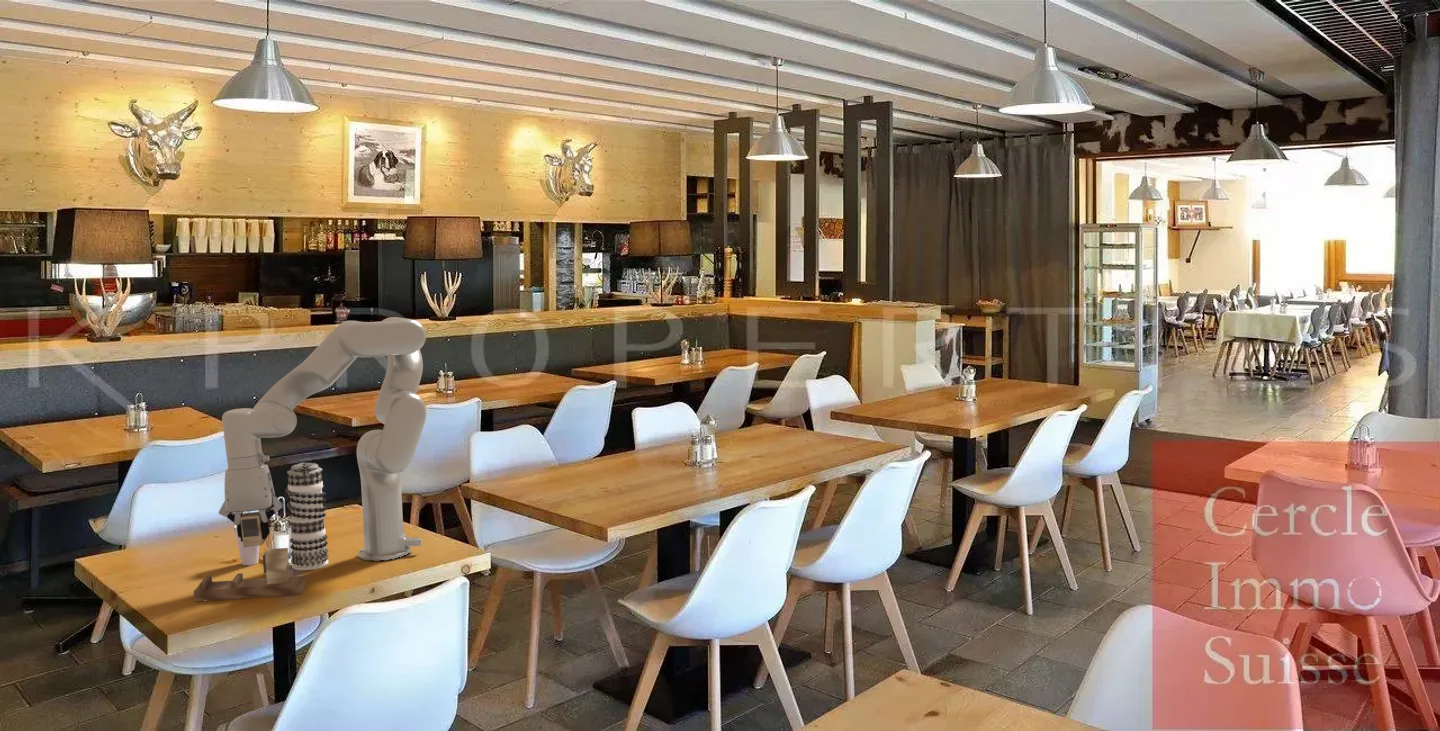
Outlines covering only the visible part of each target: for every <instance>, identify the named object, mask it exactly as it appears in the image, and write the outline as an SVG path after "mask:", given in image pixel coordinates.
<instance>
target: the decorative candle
mask: <svg viewBox="0 0 1440 731" xmlns="http://www.w3.org/2000/svg"><path fill="white" fill-rule="evenodd" d="M322 471H323V468H321V467H320V466H319V464H317V463H315V462H300V463H299V462H298V463H295V464H293V465H292V466H291V468H289V470H287V472H286V473H287V480H288V481H287V482H288V484H287V487H286V488H285V490H284V492H285V493H286V495H285V499H286V500H287V504H286V507H287V510H286V512H287V514H288V515H289V518H288V521H289V522H290V528H291V531H290V539H289V542H290V543H291V544H290V547H289V548H290V549H291V550H292V551H290V554H289V555H290V556H291V560H290V562H291V563H292V565H291V568H292V569H293V570H295V571H310V570H311V571H312V570H316V569H321V568H324V567H326V566H328V565H329V563H328V562H329V555H328V552H329V549H328V547H327V545H328V543H329V542H328V541H327V539H328V535H327V534H326V527H325V518H326V516H327V513H325V512H326V510H327V507H326V506H323V504H325V503H326V502H327V499H326V498H324V497H326V496H327V493H326V492H324V491H323V490H324V488H325V487H326V485H325V484H323V483H324V482H323V480H322V476H323V475H322ZM327 564H328V565H327ZM325 565H326V566H325ZM323 566H324V567H323Z"/></svg>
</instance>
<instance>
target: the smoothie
mask: <svg viewBox="0 0 1440 731" xmlns="http://www.w3.org/2000/svg"><path fill="white" fill-rule="evenodd" d="M246 513H251V511H246ZM233 532H234V533H235V538H236V542H237V548H238V552H239V557H240V562H241V565H242V566H245V565H248V566H254V565H256V563H257V564H259V554H260V546H250V547H244V545H243V542H241V538H240V537H238V532H237V525H235V524H234V526H233ZM253 564H254V565H253Z"/></svg>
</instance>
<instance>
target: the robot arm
mask: <svg viewBox="0 0 1440 731" xmlns="http://www.w3.org/2000/svg"><path fill="white" fill-rule="evenodd" d="M426 340H427V332H426V330H425V328H424V326H423V325H422V324H421V323H420V322H419V321H417V320H415V319H411V318H405V317H397V316H394V317H391V316H390V317H387V318H385V319H383V320H381V321H369V322H368V321H358V320H346V321H342V322H341V323H340V324H338V325H337V326H336V327H335V328H333V329H332V331H331V332H330V333H329V334H328V335H327V336H326V337H325V338H324V339H323V340H322V342H320V344H318V346H317V347H316V348H315V349H314V350H313V351H312V352H311V353H310V354H309V355H308V357H307V358H305V359H304V360H303V362H302V363H300V364H299V365H297V366H296V367H295V368H293V369H291V370H292V371H290V372H289V373H286V375H285V376H283V377H282V378H281V379H279V380H278V381H277V382H276V383H275V384H274V385H272V386H271V387H270V389H269V390H268V391H267V392H266V393H265V394H264V395H263V396H262V397H261V398H260V399H259V400H258V401H257V403H255V405H254V407H253V408H250V407H249V408H248V407H247V408H235V409H234V408H233V409H230V410H227V411H225V412H224V413H223V414H222V417H221V421H222V422H221V423H222V429H223V438H224V445H225V446H224V447H225V455H226V462H227V468H226V469H225V473H224V501H223V503H222V504H221V507H220V509H219V510H218V515H220V516H222V517H225V518H226V519H228V520H229V521H231V522H233V523H234V526H235V525H237V532H238V537H240V538H241V542H243V537H242V529H241V521H240V517H241V516H242V515H243V514H244V513H247V511H250V512H257V511H258V512H259V513H260V516H261V519H262V520H261V524H260V525H261V533H262V539H266V540H267V538H268V537H269V535H270V534H271V529H270V519H271V517H273V515H274V514H276V513H277V512H279V511H280V510H281V509H282V508H283V507H284V504H283V503H282V501H281V500H280V499H279V498H278V497H277V496H276V494H275V489H274V484H273V479H272V475H271V471H270V469H269V466H268V464H265V462H269V461H270V460H271V459H270V455H266V454H264V452H263V450H262V442H261V441H262V440H261V439H262V438H263V439H265V438H281V437H285V436H287V435H290V434H291V433H292V432H293V431H294V430H295V428H296V426H297V424H298V423H297V422H298V419H297V415H296V413H295V412H294V409H295V408H296V407H297V406H298V405H299V404H300V403H302V402H303V401H304V400H306V399H307V398H308V397H310V396H312V395H315V394H316V393H320V392H323V391H325V390H326V389H328V388H330V387H332V386H333V385H334V383H335V382H336V381H337V380H338V379H339V378H340V377H341V376H342V375H343V374H344V373H345V371H346V370H347V369H348V368H349V367H350V366H351V365H352V364H353V363H354V362H355V361H356V360H357V359H358V358H380V357H387V367H386V372H385V375H384V376H385V377H384V379H383V382H382V385H381V388H380V391H379V394H378V396H377V399H376V402H375V405H374V415H375V418H376V419H377V421H379V422H380V423H381V424H383V425H384V426H383V428H382V429H372V430H369V431H366V432H365V433H364V434H363V435H362V436H361V437H360V439H359V440H358V442H357V446H356V458H357V459H356V460H357V465H358V469H359V475H360V476H359V477H360V486H361V488H360V489H361V502H362V504H361V505H362V506H361V507H362V523H363V524H362V525H363V542H364V547H363V548H361V549H360V550H359V551H358V558H359V559H362V560H363V559H364V560H365V561H369V560H374V561H373V562H377V561H378V562H381V561H380V560H384V561H390V559H392V560H396V559H395V558H397V559H399V558H398V557H400V558H403V557H405V556H404V555H406V556H407V554H408V553H409V552H410V551H412V548H411V547H422V546H423V539H422V538H421V537H420V538H419V537H418V536H415V537H414V536H413V537H409V536H407V532H404V519H403V518H404V517H403V500H402V499H403V498H402V493H403V492H402V491H403V490H402V480H401V474H400V473H401V472H404V471H405V470H407V468H408V467H409V466H410V464H411V462H413V459H414V457H415V454H416V450H417V448H418V446H419V443H420V439H421V436H422V433H423V430H424V427H425V423H426V421H427V420H426V419H427V407H426V404H425V402H424V400H423V399H422V397H421V396H419V395H418V394H417V393H418V390H419V387H420V382H421V379H422V375H423V371H424V362H423V355H422V353H421V349H422V347H423V346H424V345H425V343H426ZM272 505H273V507H272ZM410 553H411V552H410ZM410 553H409V554H410ZM409 554H408V555H409ZM402 556H403V557H402Z"/></svg>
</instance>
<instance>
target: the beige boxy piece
mask: <svg viewBox="0 0 1440 731" xmlns="http://www.w3.org/2000/svg"><path fill="white" fill-rule="evenodd" d="M261 520H262V519H261V516H260V513H259V511H250V513H247V512H243V515H242V516H241V517H240V521H241V529H242V537H243V545H244V547H250V546H259V547H260V546H263V545H264V543H265V542H266V541H267V538H266V539H262V533H261V525H260V524H261Z"/></svg>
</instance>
